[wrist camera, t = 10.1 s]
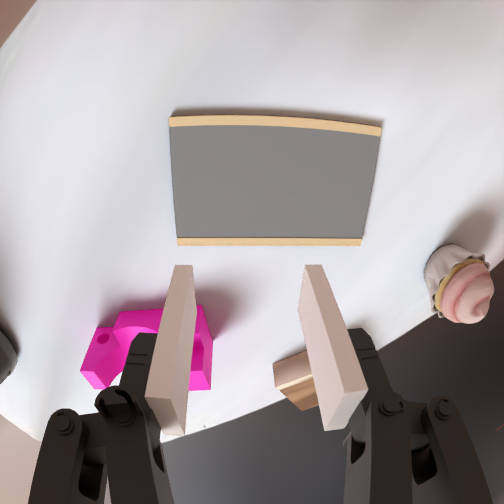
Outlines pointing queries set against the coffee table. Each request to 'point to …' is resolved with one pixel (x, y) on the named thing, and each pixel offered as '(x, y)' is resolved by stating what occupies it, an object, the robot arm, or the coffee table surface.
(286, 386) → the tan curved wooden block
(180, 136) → the mat
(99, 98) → the coffee table surface
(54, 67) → the coffee table surface
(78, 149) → the coffee table surface
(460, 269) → the cupcake
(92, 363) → the toy block
